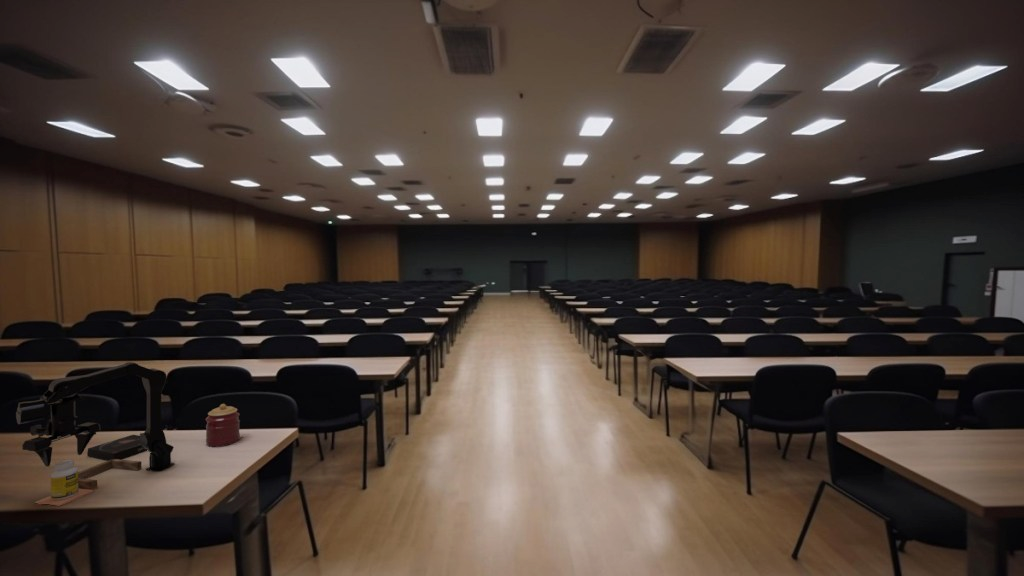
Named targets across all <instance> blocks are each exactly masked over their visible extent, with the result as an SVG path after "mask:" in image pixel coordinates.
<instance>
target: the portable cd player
mask: <svg viewBox="0 0 1024 576" xmlns="http://www.w3.org/2000/svg"><path fill="white" fill-rule="evenodd" d="M140 440H141V438H140V435H138V434H131V435H128V436H127V435H126V436H124V437H120V438H117V439H114V440H111V441H107V442H105V443H101V444H99V445H95V446H91V447H89V448H87V453H86V454H87V455H86V457H88V456H89V458H92V457H93V459H97V460H102V461H105V462H106V461H108V460H111V459H120V460H126V459H127V458H128V459H129V458H130V457H134V456H136V455H140V454H142V453H145V452H148V451H147V449H145V448H144V447H142V444H140ZM139 453H140V454H139Z"/></svg>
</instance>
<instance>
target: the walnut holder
mask: <svg viewBox="0 0 1024 576" xmlns="http://www.w3.org/2000/svg"><path fill="white" fill-rule="evenodd" d="M111 469H114V470H115V469H117V470H127V471H140V470H142V461H141V460H129V459H122V460H120V459H111V460H108V461H106V460H105V461H103V462H101V463H98V464H96V465H94V466H90V467H88V468H86V469H83V470H81V471H78V488H79V489H88V490H93V491H95V490H97V489H98V480H97V479H89V478H92V477H93V476H96V475H98V474H99V475H100V474H102V473H103V472H106V471H108V470H111ZM91 476H92V477H91ZM88 477H89V478H88ZM86 478H87V479H86Z"/></svg>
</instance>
